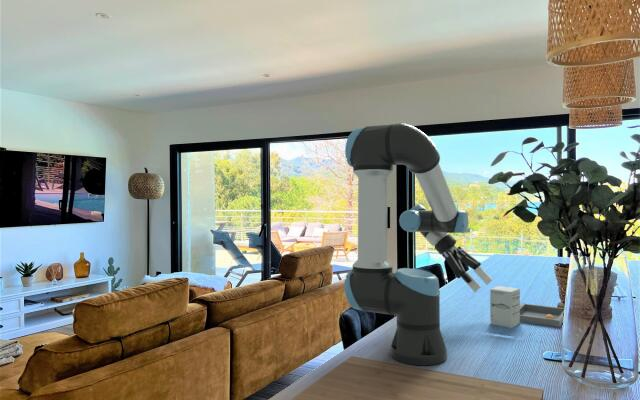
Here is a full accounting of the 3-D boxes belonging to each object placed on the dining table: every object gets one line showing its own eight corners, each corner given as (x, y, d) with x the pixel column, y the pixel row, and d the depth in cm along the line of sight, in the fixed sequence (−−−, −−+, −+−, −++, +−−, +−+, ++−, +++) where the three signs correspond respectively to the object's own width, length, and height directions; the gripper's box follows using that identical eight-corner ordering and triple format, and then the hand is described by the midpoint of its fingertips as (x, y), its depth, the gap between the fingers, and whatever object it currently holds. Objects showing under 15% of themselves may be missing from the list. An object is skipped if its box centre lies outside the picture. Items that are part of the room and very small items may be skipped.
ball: (553, 325, 148) (553, 316, 148) (543, 323, 150) (543, 314, 150) (555, 323, 151) (555, 314, 151) (545, 321, 152) (545, 312, 152)
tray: (559, 329, 146) (559, 320, 146) (510, 322, 155) (510, 313, 155) (568, 317, 160) (568, 308, 160) (523, 311, 169) (523, 303, 169)
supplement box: (489, 326, 151) (489, 288, 151) (499, 321, 156) (498, 285, 156) (511, 330, 146) (511, 291, 146) (520, 325, 151) (520, 288, 151)
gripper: (435, 236, 152) (481, 285, 144) (460, 230, 172) (501, 273, 164) (420, 251, 155) (464, 300, 147) (446, 243, 176) (487, 286, 167)
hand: (484, 286), depth 155 cm, fingers open, 13 cm apart
